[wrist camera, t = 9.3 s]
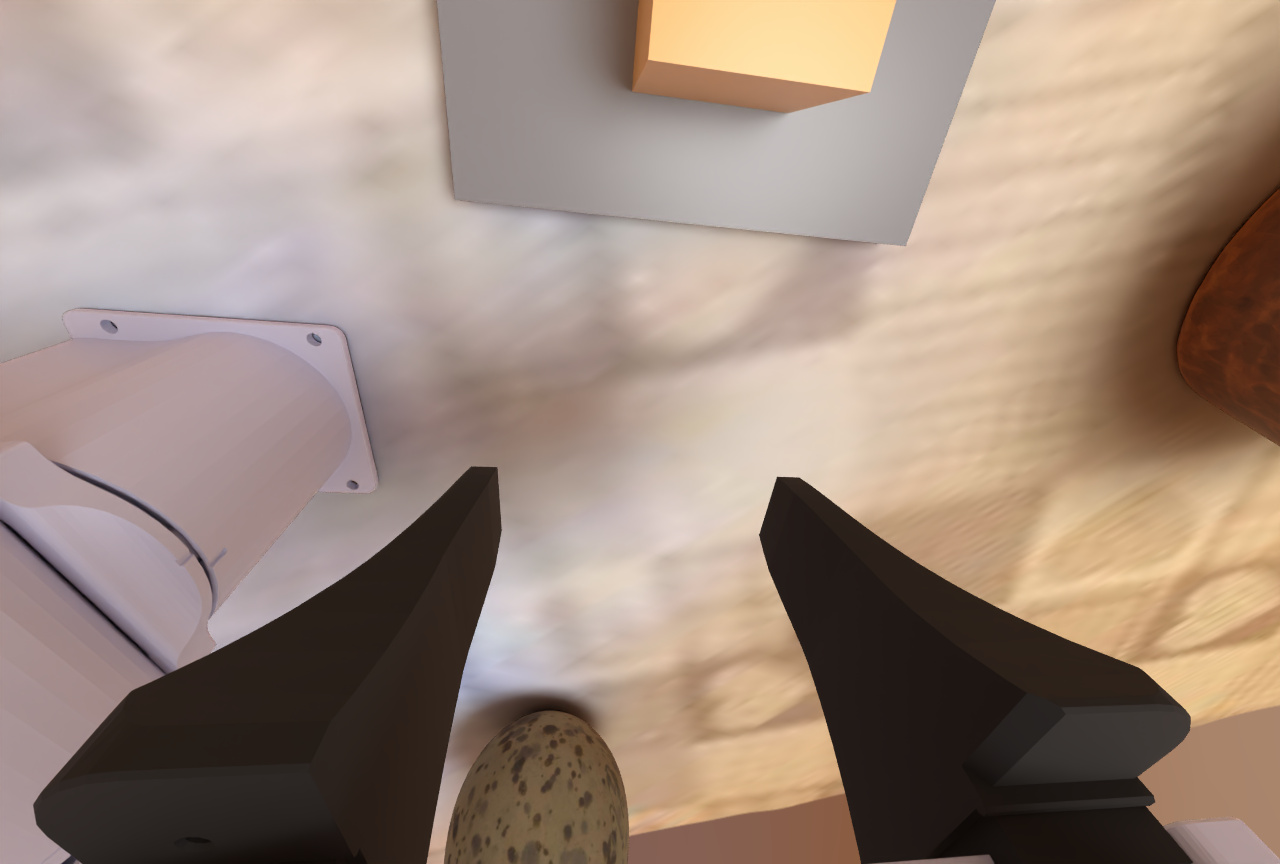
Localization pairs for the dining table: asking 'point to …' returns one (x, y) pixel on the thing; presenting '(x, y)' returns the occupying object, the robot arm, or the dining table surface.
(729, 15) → the light orange cube
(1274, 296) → the brown tapered pot
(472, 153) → the plate
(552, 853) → the decorative egg
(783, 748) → the dining table surface
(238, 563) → the robot arm
